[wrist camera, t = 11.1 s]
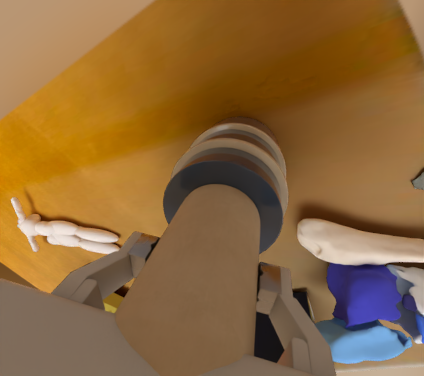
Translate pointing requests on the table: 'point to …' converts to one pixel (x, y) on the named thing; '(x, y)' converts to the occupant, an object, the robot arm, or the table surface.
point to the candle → (197, 287)
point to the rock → (419, 182)
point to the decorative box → (274, 332)
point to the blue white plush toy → (367, 290)
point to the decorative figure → (64, 233)
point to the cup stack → (235, 171)
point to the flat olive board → (112, 302)
